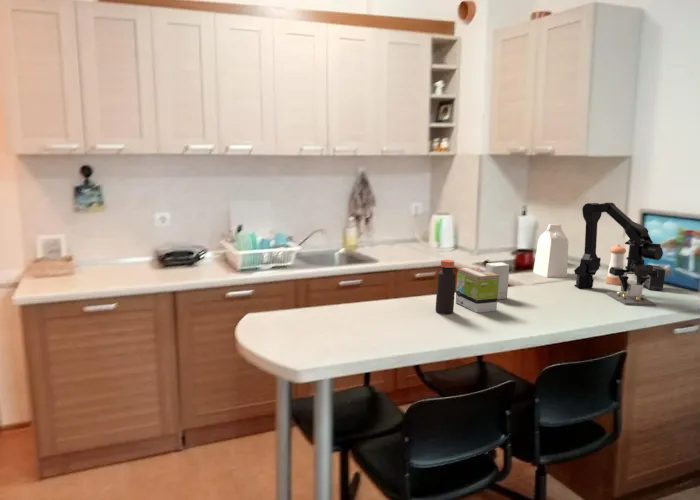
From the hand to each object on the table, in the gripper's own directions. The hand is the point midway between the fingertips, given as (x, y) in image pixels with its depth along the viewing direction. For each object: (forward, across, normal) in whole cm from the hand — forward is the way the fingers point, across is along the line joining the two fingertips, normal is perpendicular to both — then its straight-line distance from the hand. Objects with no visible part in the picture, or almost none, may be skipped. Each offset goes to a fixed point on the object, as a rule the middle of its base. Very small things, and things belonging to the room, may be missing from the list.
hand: (631, 291), depth 257 cm
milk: (+4, -18, +49) cm, 53 cm away
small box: (+4, +23, +25) cm, 34 cm away
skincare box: (+4, -60, -4) cm, 60 cm away
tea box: (+4, -72, -20) cm, 75 cm away
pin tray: (+4, 0, 0) cm, 4 cm away
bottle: (+4, -86, -29) cm, 91 cm away
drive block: (+1, 0, 0) cm, 1 cm away
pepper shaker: (+4, +8, +33) cm, 34 cm away
